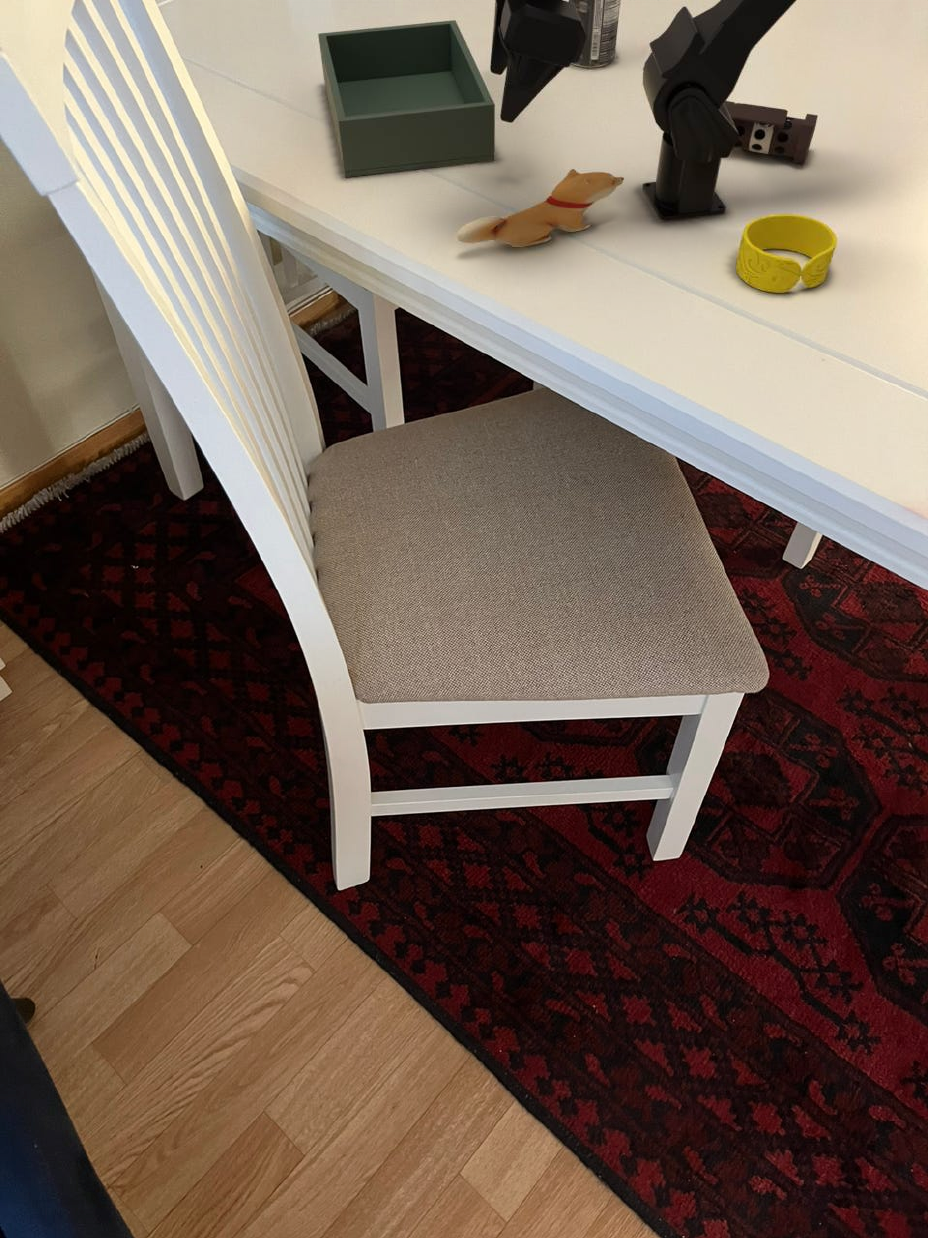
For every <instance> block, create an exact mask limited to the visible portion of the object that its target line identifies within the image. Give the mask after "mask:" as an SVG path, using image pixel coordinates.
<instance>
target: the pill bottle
mask: <svg viewBox="0 0 928 1238" xmlns="http://www.w3.org/2000/svg"><path fill="white" fill-rule="evenodd" d="M621 1H622V0H568V2H571V3H574V5H575V7H576V9H577V12H578V14H579V17H580V19H581V22H582V25H583V27H584V30H585V33H586V36H587V39H586V42H585V45H584V47H583V50H582V53H581V56H580V59H579V61H578V62H577V63H571V65H575V66H577V67H581V68H601V67H603V66H607V65H609V64H610V63H612V62H613V61H614V59H615V56H616V48H617V37H618V29H619V20H620V19H619V18H620V10H621Z"/></svg>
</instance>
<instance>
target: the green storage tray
mask: <svg viewBox="0 0 928 1238" xmlns="http://www.w3.org/2000/svg"><path fill="white" fill-rule="evenodd" d="M462 33H463V32H462V31H461V29H460V26H459V25H458V23H457V20H456V19H453V20H443V21H433V22H431V21H430V22H424V23H423V22H422V23H413V24H412V23H411V24H403V25H391V26H382V27H381V26H380V27H373V28H372V27H371V28H363V29H352V30H351V29H350V30H342V31H332V32H321V33H318V34H317V37H318V44H319V45H318V46H319V49H320V50H319V52H320V60H321V68H322V74H323V81H324V83H323V84H324V89H325V93H326V98H327V103H328V106H329V111H330V115H331V120H332V124H333V129H334V133H335V138H336V141H337V142H336V143H337V146H338V151H339V155H340V160H341V165H342V169H343V174H344V178H353V177H361V176H369V175H380V174H386V173H388V174H389V173H396V172H405V171H413V170H423V169H429V168H430V169H431V168H441V167H448V166H456V165H457V166H458V165H459V166H460V165H468V164H475V163H485V162H494V161H495V150H496V149H495V145H496V144H495V143H496V141H495V139H496V136H495V135H496V132H495V131H496V104H495V102H494V99H493V98H492V95H491V94H490V91H489V89H488V87H487V85H486V83H485V80H484V79H483V75H482V74H481V72H480V69H479V68H478V65H477V63H476V61H475V59H474V57H473V54H472V53H471V50H470V48H469V46H468V44H467V41H466V40H465V38H464V35H463V34H462Z"/></svg>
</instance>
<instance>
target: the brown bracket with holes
mask: <svg viewBox="0 0 928 1238" xmlns="http://www.w3.org/2000/svg"><path fill="white" fill-rule="evenodd" d="M725 106H726V108H727V110H728V112H729V114H730V116H731V119H732V121H733V123H734V125H735V127H736V129H737V131H738V134H739V139H738V140H737V142H736V144H735V146H734V148H737V149H742V150H748V151H749V152H753V153H754V152H755V153H761V154H767V155H769V154H773V155H778V156H785V157H790V158H793V160H792V163H795V164H800V165H804V164H805V162H806V159H807V156H808V155H809V150H810V147H811V144H812V140H813V137H814V133H815V130H816V125H817V121H818V117H819V116H818V114H812V113H806V115H805V118H799V117H792V116H788V112H789V111H788V110H787V109H784V108H778V107H771V106H763V105H756V104H750V103H741V102H735V101H730V100H726V101H725Z"/></svg>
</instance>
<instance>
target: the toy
mask: <svg viewBox="0 0 928 1238" xmlns="http://www.w3.org/2000/svg"><path fill="white" fill-rule="evenodd" d="M624 180H625V178H624V177H623V176H614V175H613V174H611V173H609V172H603V171H600V172H599V171H593V172H592V171H591V172H583V173H580V172H578V171H576V169H575V168H572V169H570V170H569V172H568V173H567V174H566V176H565V177H564V178H563V179H561V180H560V181H559V183H557V184H556V185H555V186H554V188H553V189H552V191H551V193H550V196H548V197H547V198H546V199H545V200H543V201H541V202H539V203H538V204H535V205H532V206H530V207H528V208H525V209H523V210H519V211H518V212H515V213H513V214H510V215H507V216H506V217H501V216H497V215H496V216H495V215H494V216H485V217H482V218H478V219H475V220H473V221H470V222H468V223H467V224H465V225H463V226H462V227H461V228H460V230H459V231H458V232H457V234H456V238H457V240H458V241H459V242H461V243H465V244H477V243H478V244H479V243H484V242H488V241H492V242H496V243H500V244H508V245H510V246H511V247H513V248H524V247H528V246H534V245H538V244H542V243H546V242H549V241H550V240H551V239H552V236H550V235H548V234H550V233H551V232H552V231H553V230H554V229H557V228H558V229H560V230H562V231H565V232H569V233H574V232H579V231H582V230H586V229H588V228H589V227H590V226H591V224H590V223H584V219H583V217H584V213H586V211H587V210H588V209H589V207H591V206H592V205H594V204H595V203H597V202H599V201H601V200H604V199H605V198H607V197H609V196H610V195H612V194H613V193H614V192H615V191H616V189H617V187H619V186H621V185H622V184H623V183H624V182H623V181H624Z"/></svg>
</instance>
